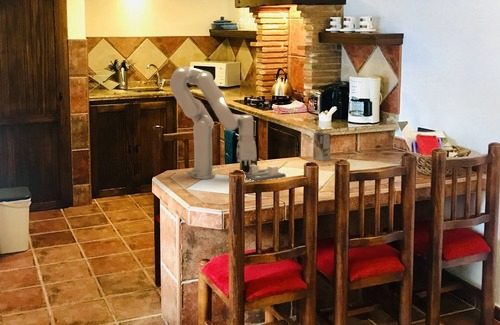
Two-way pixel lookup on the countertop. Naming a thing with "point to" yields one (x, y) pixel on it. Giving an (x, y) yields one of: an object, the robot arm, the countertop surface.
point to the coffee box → (321, 146)
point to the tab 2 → (272, 170)
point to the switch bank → (263, 175)
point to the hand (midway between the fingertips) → (246, 172)
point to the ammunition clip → (250, 164)
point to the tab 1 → (253, 169)
